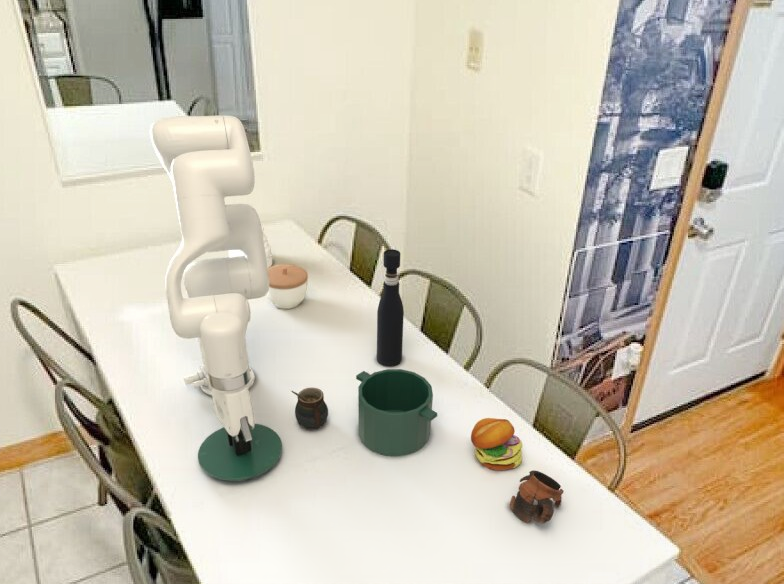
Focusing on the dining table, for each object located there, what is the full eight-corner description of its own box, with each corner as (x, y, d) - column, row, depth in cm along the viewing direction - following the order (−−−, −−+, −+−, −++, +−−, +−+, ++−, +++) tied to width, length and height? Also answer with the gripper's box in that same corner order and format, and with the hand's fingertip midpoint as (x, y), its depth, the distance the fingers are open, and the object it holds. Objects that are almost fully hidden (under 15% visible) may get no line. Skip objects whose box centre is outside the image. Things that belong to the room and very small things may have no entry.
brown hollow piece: (500, 496, 128) (519, 461, 126) (538, 509, 131) (558, 476, 130) (520, 531, 117) (542, 494, 115) (561, 545, 120) (583, 509, 119)
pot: (406, 473, 131) (408, 431, 125) (335, 427, 142) (333, 386, 135) (453, 436, 141) (457, 395, 135) (383, 395, 152) (384, 355, 145)
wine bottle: (398, 368, 161) (402, 260, 144) (373, 364, 162) (374, 256, 145) (404, 354, 166) (408, 248, 149) (380, 350, 167) (382, 245, 150)
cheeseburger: (510, 482, 131) (505, 442, 126) (465, 470, 136) (458, 431, 132) (531, 453, 138) (527, 415, 133) (487, 443, 144) (482, 406, 139)
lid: (232, 496, 122) (228, 472, 118) (181, 455, 130) (176, 432, 127) (299, 452, 133) (297, 429, 129) (248, 416, 141) (245, 394, 138)
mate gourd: (334, 427, 142) (333, 391, 136) (302, 438, 138) (300, 402, 132) (320, 408, 146) (318, 373, 141) (289, 419, 143) (286, 384, 137)
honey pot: (223, 269, 198) (215, 214, 188) (240, 252, 209) (234, 199, 198) (263, 275, 197) (257, 219, 186) (278, 257, 207) (273, 204, 197)
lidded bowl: (318, 300, 186) (316, 266, 180) (288, 318, 177) (285, 283, 171) (286, 287, 191) (283, 254, 185) (255, 304, 182) (251, 269, 176)
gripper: (194, 359, 124) (208, 431, 134) (225, 404, 113) (237, 479, 124) (232, 348, 127) (242, 419, 138) (265, 391, 117) (274, 464, 127)
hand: (240, 447), depth 131 cm, fingers closed on lid, 2 cm apart
